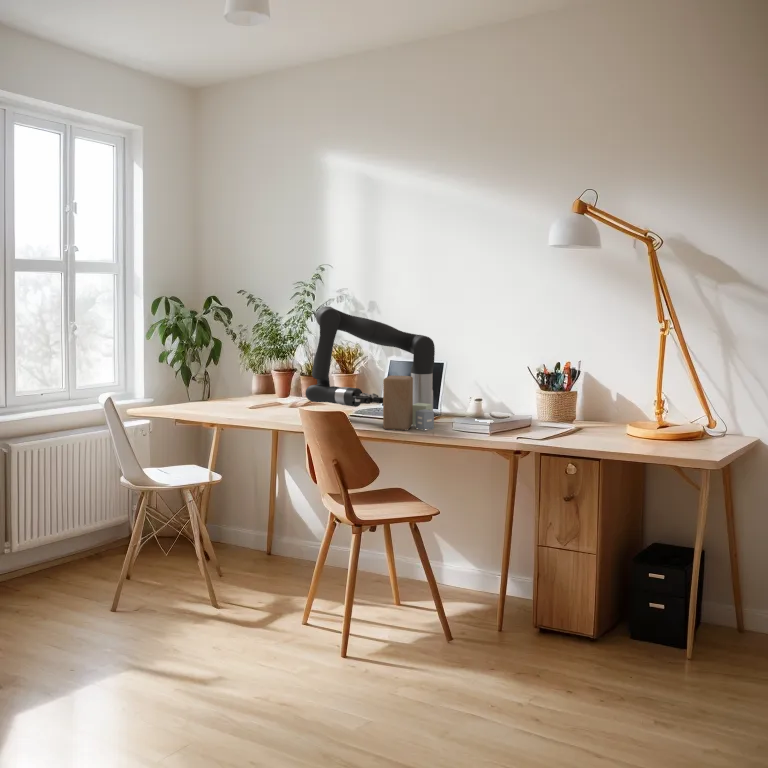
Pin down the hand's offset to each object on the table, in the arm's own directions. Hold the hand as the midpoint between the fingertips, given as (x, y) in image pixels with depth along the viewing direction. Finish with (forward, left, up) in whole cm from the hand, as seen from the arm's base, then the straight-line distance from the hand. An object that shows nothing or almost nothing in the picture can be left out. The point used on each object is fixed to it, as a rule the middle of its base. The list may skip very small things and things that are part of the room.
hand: (383, 400), depth 334 cm
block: (0, +7, -10) cm, 12 cm away
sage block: (-12, +10, -10) cm, 19 cm away
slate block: (-5, +16, -10) cm, 20 cm away
